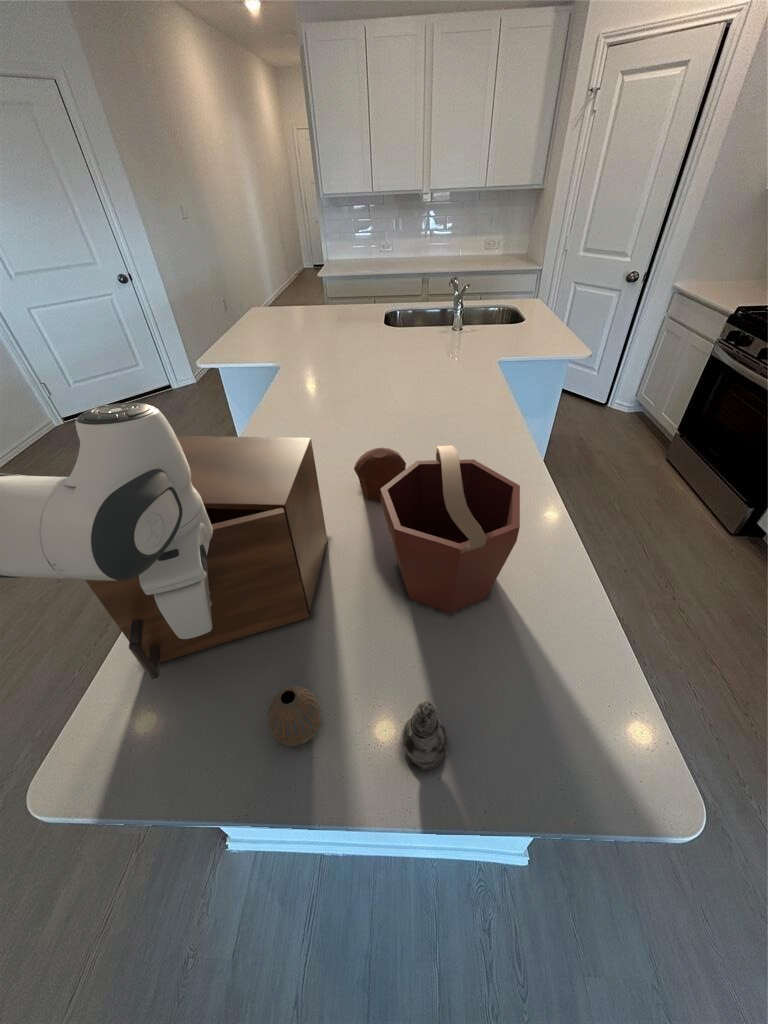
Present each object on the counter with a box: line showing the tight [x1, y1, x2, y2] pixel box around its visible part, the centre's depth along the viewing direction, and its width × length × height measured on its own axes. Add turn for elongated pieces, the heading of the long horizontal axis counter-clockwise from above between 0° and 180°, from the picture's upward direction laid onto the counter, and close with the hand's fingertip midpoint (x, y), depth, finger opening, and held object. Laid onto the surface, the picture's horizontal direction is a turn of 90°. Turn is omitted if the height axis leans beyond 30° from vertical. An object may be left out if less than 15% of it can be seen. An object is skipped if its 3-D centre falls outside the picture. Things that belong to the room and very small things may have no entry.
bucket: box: [380, 445, 521, 614], centre depth 73 cm, size 24×22×25 cm
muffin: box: [353, 447, 407, 503], centre depth 99 cm, size 12×11×10 cm
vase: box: [267, 685, 322, 747], centre depth 58 cm, size 7×7×9 cm
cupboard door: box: [84, 508, 310, 681], centre depth 63 cm, size 6×26×24 cm, turn 110°
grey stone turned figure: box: [400, 700, 448, 771], centre depth 55 cm, size 6×6×12 cm
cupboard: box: [176, 435, 328, 612], centre depth 76 cm, size 18×26×24 cm
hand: (205, 602), depth 62 cm, fingers closed
